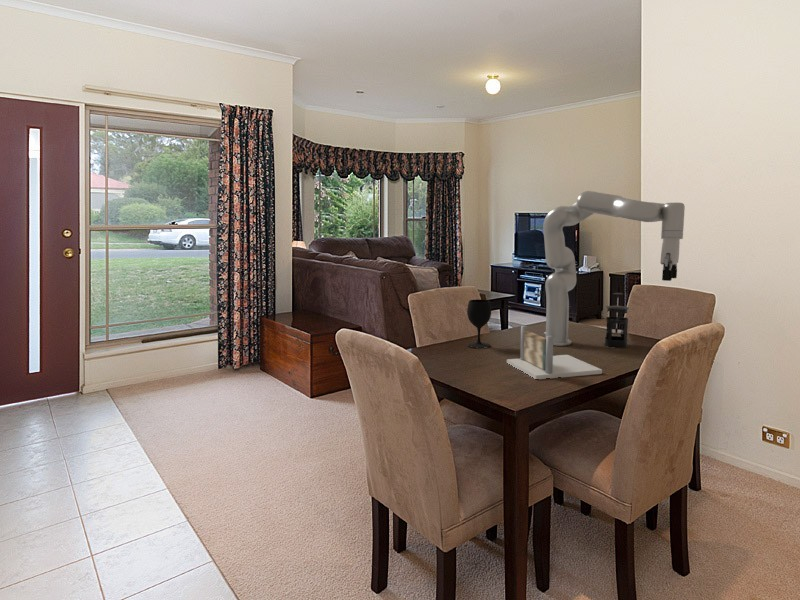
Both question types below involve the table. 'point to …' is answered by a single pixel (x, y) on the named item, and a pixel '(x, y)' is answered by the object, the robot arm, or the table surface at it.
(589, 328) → the table surface
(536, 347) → the beige wavy patterned slab
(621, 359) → the table surface
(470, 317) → the wine glass
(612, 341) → the french press
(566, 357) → the white base with posts
